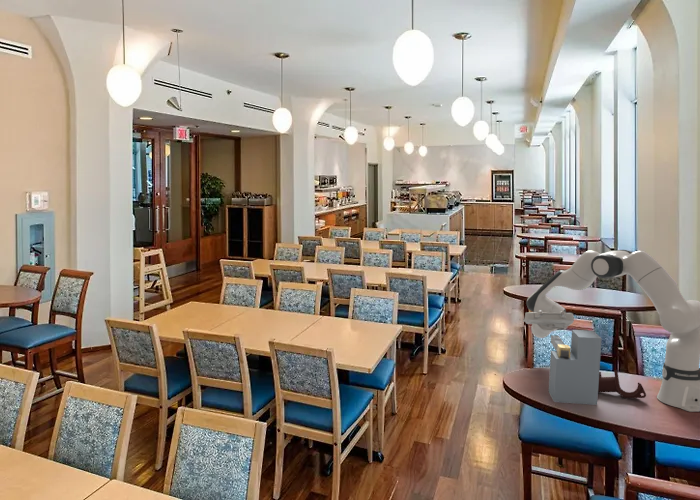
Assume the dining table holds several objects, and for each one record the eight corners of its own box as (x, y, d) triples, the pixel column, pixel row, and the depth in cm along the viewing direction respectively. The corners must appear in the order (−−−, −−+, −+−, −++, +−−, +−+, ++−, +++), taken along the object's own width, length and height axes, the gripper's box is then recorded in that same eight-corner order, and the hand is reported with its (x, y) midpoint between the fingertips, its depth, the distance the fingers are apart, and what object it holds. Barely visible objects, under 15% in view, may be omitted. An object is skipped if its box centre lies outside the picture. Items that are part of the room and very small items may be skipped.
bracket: (646, 397, 194) (641, 369, 197) (594, 398, 202) (590, 370, 205) (646, 398, 199) (641, 370, 202) (595, 398, 207) (592, 371, 211)
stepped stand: (589, 394, 203) (593, 330, 200) (597, 404, 194) (601, 338, 190) (548, 391, 206) (552, 328, 203) (554, 401, 196) (557, 336, 193)
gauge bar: (559, 342, 214) (560, 333, 214) (570, 358, 195) (570, 348, 194) (549, 342, 215) (549, 332, 215) (558, 357, 196) (559, 347, 195)
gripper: (521, 314, 235) (526, 305, 223) (568, 315, 232) (576, 306, 219) (522, 328, 233) (527, 319, 220) (569, 329, 229) (577, 320, 217)
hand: (552, 313), depth 220 cm, fingers open, 8 cm apart
